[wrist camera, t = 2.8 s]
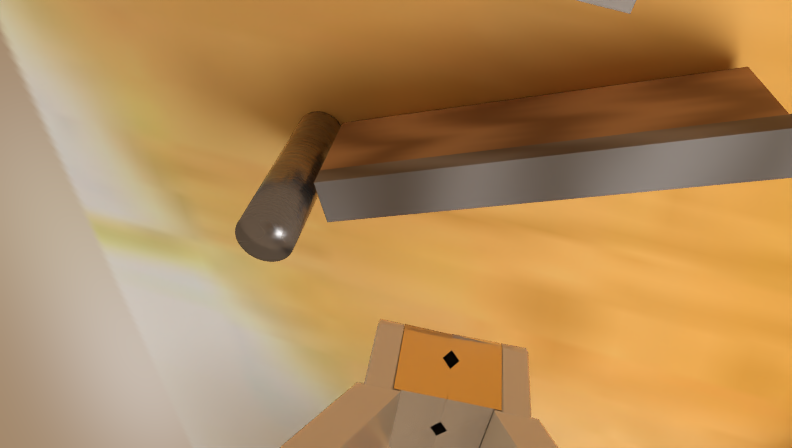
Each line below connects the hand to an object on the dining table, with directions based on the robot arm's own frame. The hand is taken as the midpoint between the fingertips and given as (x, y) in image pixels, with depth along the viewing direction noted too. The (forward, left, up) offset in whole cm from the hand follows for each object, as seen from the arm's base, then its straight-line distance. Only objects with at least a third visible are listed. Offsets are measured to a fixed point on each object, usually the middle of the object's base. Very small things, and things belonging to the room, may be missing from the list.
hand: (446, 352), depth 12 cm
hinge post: (-6, +7, -18) cm, 21 cm away
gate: (-2, -3, -18) cm, 18 cm away
